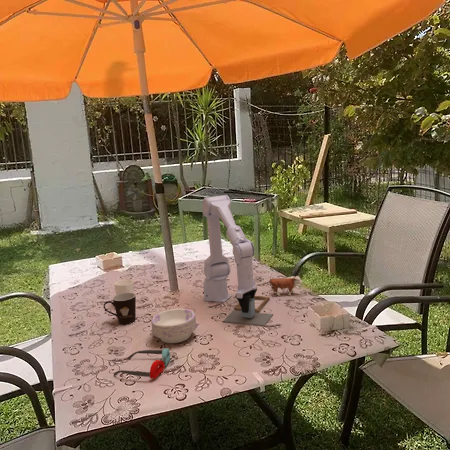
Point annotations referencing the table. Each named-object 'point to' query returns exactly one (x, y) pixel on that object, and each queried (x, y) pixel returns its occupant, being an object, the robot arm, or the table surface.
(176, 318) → the white round bowl
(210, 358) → the table surface
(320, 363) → the table surface
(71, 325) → the table surface
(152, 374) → the novelty glasses
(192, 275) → the table surface
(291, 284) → the bull figurine
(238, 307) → the pocket frame
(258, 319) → the rubber mat
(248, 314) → the blue block
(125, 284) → the white cup
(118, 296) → the coffee mug
